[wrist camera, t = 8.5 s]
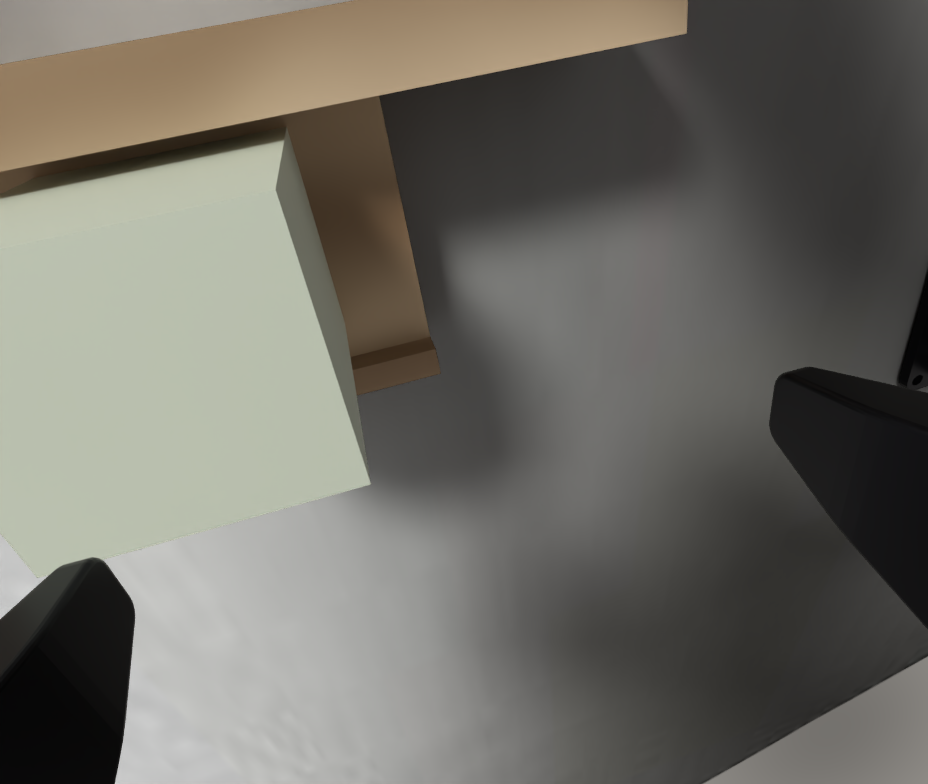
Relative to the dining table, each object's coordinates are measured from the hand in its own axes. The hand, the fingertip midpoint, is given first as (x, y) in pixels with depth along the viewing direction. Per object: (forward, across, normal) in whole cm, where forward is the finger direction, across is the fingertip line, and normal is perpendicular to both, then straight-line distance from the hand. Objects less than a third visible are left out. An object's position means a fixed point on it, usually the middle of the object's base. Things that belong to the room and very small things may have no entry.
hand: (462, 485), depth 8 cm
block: (+9, +4, -1) cm, 10 cm away
